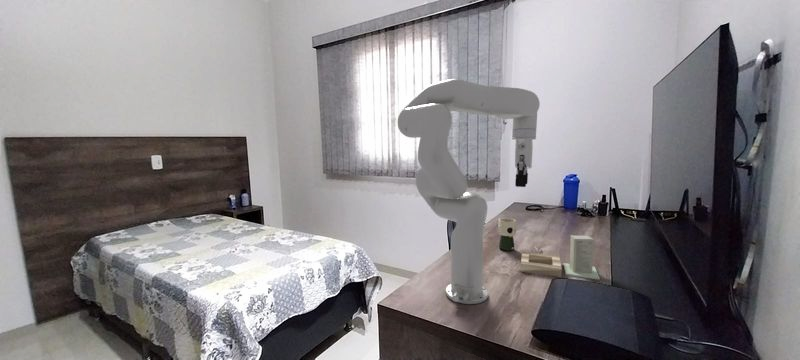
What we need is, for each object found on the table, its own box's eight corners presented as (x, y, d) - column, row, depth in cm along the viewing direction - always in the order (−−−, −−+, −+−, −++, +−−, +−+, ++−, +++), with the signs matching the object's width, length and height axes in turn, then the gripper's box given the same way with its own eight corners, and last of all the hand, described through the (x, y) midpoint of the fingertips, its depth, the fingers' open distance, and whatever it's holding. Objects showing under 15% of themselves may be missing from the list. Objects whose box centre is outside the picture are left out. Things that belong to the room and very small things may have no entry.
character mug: (504, 254, 128) (505, 223, 126) (491, 249, 134) (491, 220, 132) (521, 249, 134) (522, 219, 132) (508, 244, 140) (508, 216, 138)
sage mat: (599, 279, 103) (599, 277, 103) (565, 275, 107) (565, 273, 107) (594, 268, 112) (594, 266, 112) (563, 264, 116) (563, 262, 116)
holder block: (561, 277, 106) (561, 268, 105) (520, 271, 111) (520, 263, 110) (558, 263, 117) (559, 255, 117) (521, 258, 123) (522, 251, 122)
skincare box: (587, 268, 111) (589, 235, 110) (592, 273, 107) (594, 239, 105) (568, 267, 112) (570, 234, 111) (572, 272, 108) (574, 238, 107)
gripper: (535, 133, 96) (532, 188, 97) (536, 136, 111) (534, 183, 113) (509, 134, 99) (507, 187, 101) (514, 136, 115) (512, 182, 116)
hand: (521, 185), depth 107 cm, fingers open, 9 cm apart
